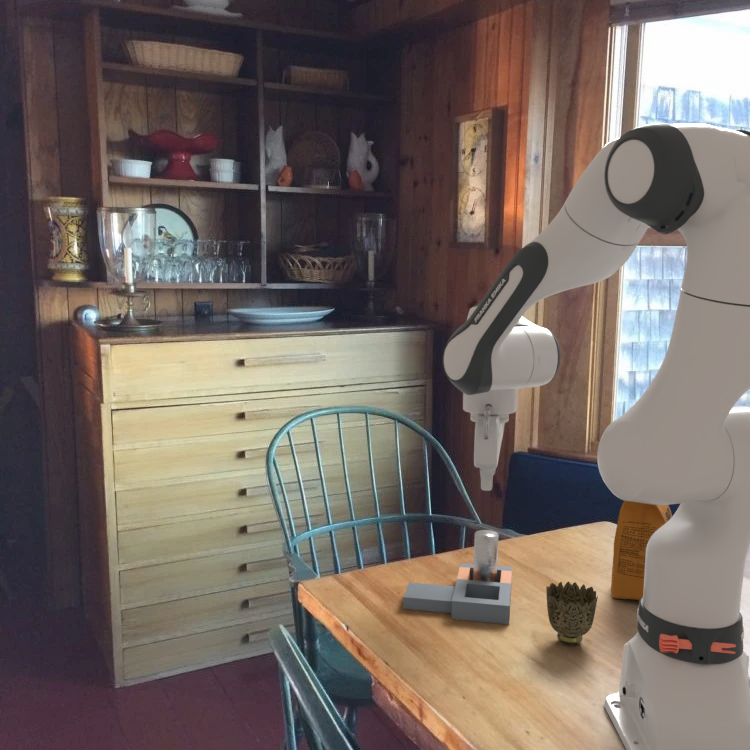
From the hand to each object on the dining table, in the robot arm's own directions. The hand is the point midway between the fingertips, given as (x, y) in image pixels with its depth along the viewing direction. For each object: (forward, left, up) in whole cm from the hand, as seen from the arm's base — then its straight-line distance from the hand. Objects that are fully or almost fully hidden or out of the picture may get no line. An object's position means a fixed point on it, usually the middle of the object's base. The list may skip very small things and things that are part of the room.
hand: (488, 481), depth 133 cm
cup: (-15, -13, -20) cm, 28 cm away
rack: (-3, +4, -19) cm, 20 cm away
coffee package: (+6, -26, -20) cm, 33 cm away
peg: (0, 0, -19) cm, 19 cm away
